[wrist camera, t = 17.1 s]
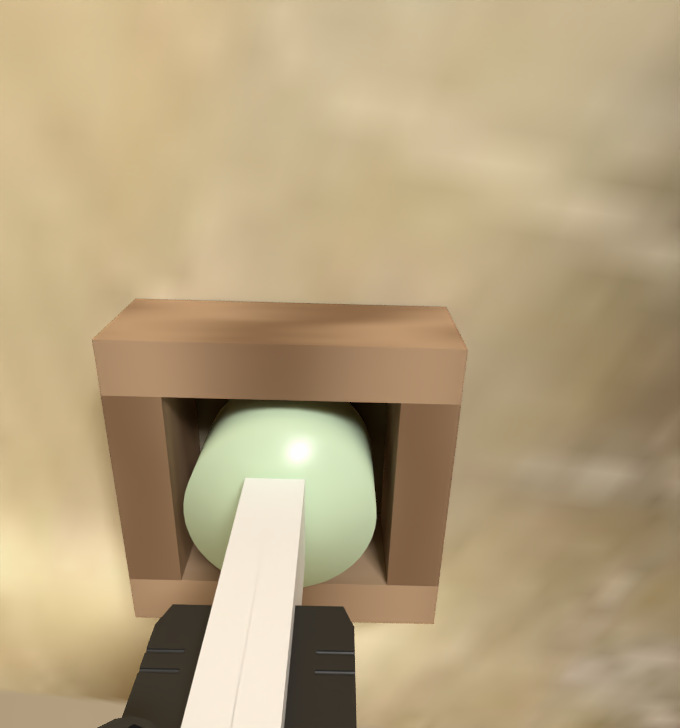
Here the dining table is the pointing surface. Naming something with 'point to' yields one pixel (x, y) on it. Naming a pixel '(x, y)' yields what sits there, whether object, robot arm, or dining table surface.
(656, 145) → the dining table surface
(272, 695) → the robot arm
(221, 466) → the button
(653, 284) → the dining table surface
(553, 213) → the dining table surface
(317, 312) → the button housing
